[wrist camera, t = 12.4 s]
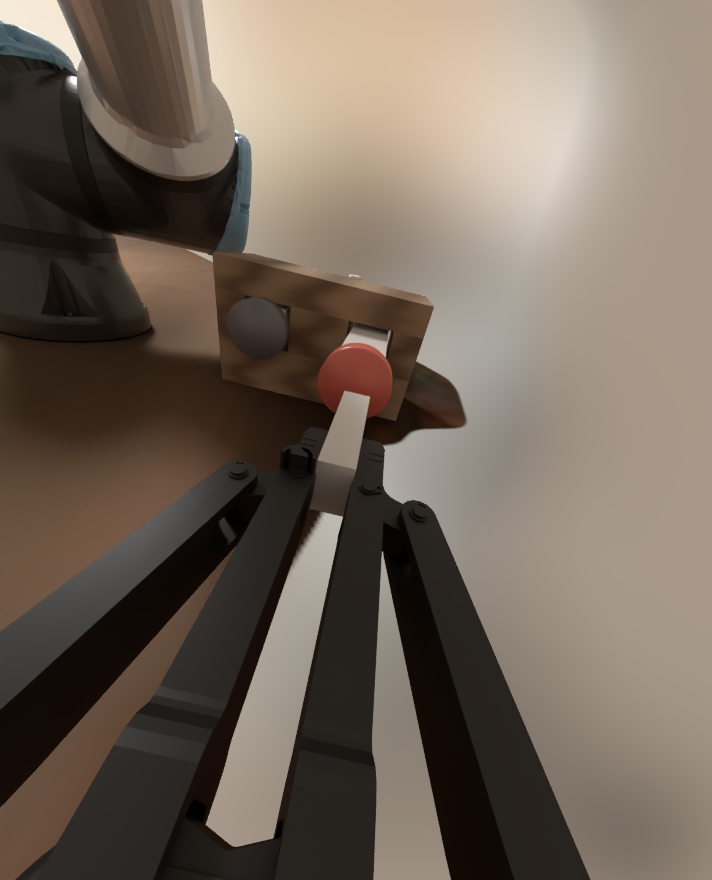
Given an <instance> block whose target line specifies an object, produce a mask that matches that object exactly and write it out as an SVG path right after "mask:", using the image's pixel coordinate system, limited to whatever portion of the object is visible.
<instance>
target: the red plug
mask: <svg viewBox="0 0 712 880" xmlns="http://www.w3.org/2000/svg"><path fill="white" fill-rule="evenodd" d="M387 339H388V330H385V329H381V328H377V327H373V326H369V325H365V324H361V323H357V322H356V323H355V325H354V327H353V328H352V330H351V331H350V333H349V335H348V336H347V338H346V339H345V341H344V343H343V344H342V346H340V347H338V348H337V349H335V350H334V351H333V352H332V353H331V354H330V355H329V357H328V358H327V359H326V361H325V362H324V364H323V365H322V367H321V369H320V372H319V375H318V390H319V394H320V397H321V399H322V400H323V402H324V403H325V405H326V406H327V407H328V408H329V409H330V410H331V411H332V412H334V413H335V414H336V412H337V409H338V406H339V404H340V401H341V399H342V396H343V394H344V391H348V392H352V393H357V394H361V395H365V396H369V397H370V400H369V405H368V411H367V416H366V419H367V418H370V417H372V416H374V415H376V414H378V413H379V412H380V411H382V409H383V408H384V407H385V406H386V405H387V403H388V401H389V399H390V396H391V393H392V370H391V367H390V364H389V362H388V360H387V359H386V349H387Z"/></svg>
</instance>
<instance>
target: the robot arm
mask: <svg viewBox="0 0 712 880" xmlns="http://www.w3.org/2000/svg"><path fill="white" fill-rule="evenodd" d="M57 1H58V4H59V6H60V8H61V10H62V13H63V15H64V17H65V20H66V22H67V24H68V26H69V28H70V31H71V33H72V35H73V37H74V40H75V42H76V44H77V47H78V49H79V51H80V53H81V56H82V59H81V61H80V63H79V67H78V71H76V70H75V68H74V65H73V63H72V62H71V60H70V59H69V57H68V56H67V55H66V54H65V53H64V52H62V50H60V49H59V48H58V47H56V46H55V45H53V44H52V43H50V42H49V41H47V40H45V39H43V38H42V37H40V36H38V35H36V34H34V33H32V32H30V31H28V30H26V29H24V28H21V27H18V26H15V25H11V24H7V23H5V22H2V21H0V331H1V332H5V333H8V334H12V335H17V336H22V337H29V338H36V339H46V340H61V341H96V340H110V339H118V338H125V337H130V336H134V335H138V334H141V333H143V332H145V331H147V330H148V329H149V328H150V327H151V322H150V317H149V312H148V309H147V307H146V305H145V304H144V302H143V301H141V299H140V297H139V295H138V293H137V291H136V289H135V287H134V284H133V283H132V281H131V279H130V277H129V275H128V273H127V271H126V269H125V267H124V266H123V264H122V261H121V259H120V255H119V251H118V247H117V243H116V239H115V234H118V235H123V236H128V237H133V238H138V239H143V240H148V241H153V242H157V243H162V244H166V245H171V246H175V247H180V248H184V249H189V250H194V251H198V252H203V253H207V254H209V255H212V256H213V253H212V252H220V253H242V252H243V251H244V248H245V245H246V240H247V233H248V223H249V207H250V197H251V170H252V169H251V166H252V164H251V147H250V143H249V142H248V139H247V138H246V137H245V136H243V135H242V134H240V133H239V132H238V131H237V130H235V129H234V123H233V119H232V115H231V112H230V110H229V107H228V105H227V103H226V101H225V99H224V97H223V96H222V94H221V92H220V91H219V90H218V88H217V87H216V85H215V84H214V83H213V82H212V80H211V70H210V62H209V54H208V45H207V37H206V29H205V21H204V12H203V4H202V0H57ZM369 400H370V397H369V396H365V395H361V394H357V393H352V392H348V391H344V394H343V396H342V399H341V401H340V404H339V406H338V409H337V412H336V414H335V417H334V419H333V422H332V424H331V427H330V429H329V431H328V430H324V429H320V428H316V427H310V428H309V429H307V430H306V431H305V432H304V433H303V435H302V437H301V439H300V441H299V444H295V445H289V446H287V447H285V448H284V449H283V450H282V451H281V465H280V469H277V470H271V471H258V469H257V468H256V466H255V465H254V464H253V463H251V462H248V461H245V460H236V461H232V462H229V463H227V464H225V465H223V466H222V467H220V468H219V469H218V470H216V471H215V472H214V473H212V474H211V475H210V476H208V477H207V478H206V479H204V480H203V481H202V482H200V483H199V484H198V485H196V486H195V487H194V488H192V489H191V490H190V491H188V492H187V493H186V494H184V495H183V496H182V497H180V498H179V499H178V500H176V501H175V502H174V503H172V504H171V505H170V506H168V507H167V508H166V509H164V510H163V511H162V512H160V513H159V514H158V515H156V516H155V517H153V518H152V519H151V520H149V521H148V522H147V523H145V524H144V525H143V526H141V527H140V528H139V529H137V530H136V531H135V532H133V533H132V534H131V535H129V536H128V537H127V538H125V539H124V540H123V541H121V542H120V543H119V544H117V545H116V546H115V547H113V548H112V549H111V550H109V551H108V552H107V553H105V554H104V555H103V556H101V557H100V558H99V559H97V560H96V561H95V562H93V563H92V564H91V565H89V566H88V567H86V568H85V569H84V570H82V571H81V572H80V573H78V574H77V575H76V576H74V577H73V578H72V579H70V580H69V581H68V582H66V583H65V584H64V585H62V586H61V587H60V588H58V589H57V590H56V591H54V592H53V593H52V594H50V595H49V596H48V597H46V598H45V599H44V600H42V601H41V602H40V603H38V604H37V605H36V606H34V607H33V608H32V609H30V610H29V611H28V612H26V613H25V614H24V615H22V616H21V617H19V618H18V619H17V620H15V621H14V622H13V623H11V624H10V625H9V626H7V627H6V628H5V629H3V630H2V631H1V632H0V807H1V806H2V805H3V804H4V803H5V802H6V801H7V800H8V799H9V798H10V797H11V796H12V795H13V794H14V793H15V792H16V790H17V789H18V788H19V787H20V786H21V785H22V784H23V783H24V782H25V781H26V780H27V779H28V778H29V777H30V776H31V775H32V773H33V772H34V771H35V770H36V769H37V768H38V767H39V766H40V765H41V764H42V763H43V762H44V760H45V759H46V758H47V757H48V756H49V755H50V754H51V753H52V751H53V750H54V749H55V748H56V747H57V746H58V745H59V744H60V742H61V741H62V740H63V739H64V738H65V737H66V736H67V735H68V733H69V732H70V731H71V730H72V729H73V728H74V727H75V726H76V724H77V723H78V722H79V721H80V720H81V719H82V718H83V717H84V715H85V714H86V713H87V712H88V711H89V710H90V709H91V708H92V707H93V705H94V704H95V703H96V702H97V701H98V700H99V699H100V698H101V696H102V695H103V694H104V693H105V692H106V691H107V690H108V689H109V687H110V686H111V685H112V684H113V683H114V682H115V681H116V680H117V678H118V677H119V676H120V675H121V674H122V673H123V672H124V671H125V669H126V668H127V667H128V666H129V665H130V664H131V663H132V662H133V660H134V659H135V658H136V657H137V656H138V655H139V654H140V653H141V652H142V650H143V649H144V648H145V647H146V646H147V645H148V644H149V643H150V641H151V640H152V639H153V638H154V637H155V636H156V635H157V634H158V632H159V631H160V630H161V629H162V628H163V627H164V626H165V625H166V623H167V622H168V621H169V620H170V619H171V618H172V617H173V616H174V614H175V613H176V612H177V611H178V610H179V609H180V608H181V607H182V605H183V604H184V603H185V602H186V601H187V600H188V599H189V598H190V597H191V595H192V594H193V593H194V592H195V591H196V590H197V589H198V588H199V586H200V585H201V584H202V583H203V582H204V581H205V580H206V579H207V577H208V576H209V575H210V574H211V573H212V572H213V571H214V570H215V568H216V567H217V566H218V565H219V564H220V563H221V562H222V561H223V559H224V558H225V557H226V556H227V555H228V554H229V553H230V552H231V550H232V549H233V548H234V547H235V546H236V545H237V544H238V545H237V547H236V549H235V551H234V552H233V554H232V556H231V558H230V560H229V561H228V563H227V565H226V567H225V569H224V571H223V572H222V574H221V576H220V578H219V580H218V581H217V583H216V585H215V587H214V589H213V590H212V592H211V594H210V596H209V598H208V600H207V601H206V603H205V605H204V607H203V609H202V610H201V612H200V614H199V616H198V618H197V619H196V621H195V623H194V625H193V627H192V628H191V630H190V632H189V634H188V636H187V638H186V639H185V641H184V643H183V645H182V647H181V648H180V650H179V652H178V654H177V656H176V657H175V659H174V661H173V663H172V665H171V667H170V668H169V670H168V672H167V674H166V676H165V677H164V679H163V681H162V683H161V685H160V686H159V688H158V690H157V691H156V693H155V695H154V696H153V697H152V699H151V700H150V701H149V702H148V703H147V704H146V705H145V706H144V707H143V708H141V709H140V710H139V711H138V712H137V713H136V714H135V715H134V717H133V718H132V719H131V720H130V722H129V723H128V724H127V725H126V727H125V728H124V730H123V732H122V733H121V735H120V736H119V738H118V740H117V741H116V743H115V744H114V746H113V748H112V749H111V751H110V753H109V755H108V756H107V758H106V760H105V761H104V763H103V765H102V767H101V768H100V770H99V772H98V774H97V775H96V777H95V779H94V780H93V782H92V784H91V786H90V787H89V789H88V791H87V793H86V794H85V796H84V798H83V799H82V801H81V803H80V805H79V806H78V808H77V810H76V812H75V813H74V815H73V817H72V818H71V820H70V822H69V824H68V825H67V827H66V829H65V831H64V832H63V834H62V836H61V837H60V839H59V841H58V843H57V844H56V845H55V846H54V847H53V848H51V849H50V850H49V851H47V852H46V853H45V854H44V855H42V856H41V857H40V858H39V859H38V860H37V861H35V862H34V863H33V864H32V865H31V866H30V867H29V868H27V869H26V870H25V871H24V872H23V873H22V874H21V875H20V876H19V877H18V878H17V879H16V880H373V872H374V847H375V822H376V770H375V763H374V758H373V754H372V724H373V706H374V688H375V687H374V686H375V668H376V649H377V631H378V612H379V592H380V575H381V556H382V551H383V555H384V560H385V565H386V570H387V574H388V579H389V584H390V589H391V594H392V599H393V604H394V608H395V613H396V618H397V623H398V627H399V633H400V637H401V642H402V647H403V652H404V657H405V662H406V666H407V671H408V676H409V681H410V686H411V691H412V696H413V700H414V705H415V710H416V715H417V720H418V724H419V729H420V734H421V739H422V744H423V749H424V753H425V758H426V763H427V768H428V773H429V778H430V783H431V788H432V792H433V797H434V802H435V807H436V812H437V817H438V821H439V826H440V831H441V836H442V840H443V846H444V850H445V855H446V860H447V864H448V868H449V873H450V877H451V880H590V878H589V875H588V873H587V871H586V868H585V866H584V864H583V861H582V859H581V857H580V854H579V852H578V849H577V847H576V845H575V843H574V840H573V838H572V836H571V833H570V831H569V828H568V826H567V824H566V821H565V819H564V817H563V814H562V812H561V809H560V807H559V805H558V802H557V800H556V798H555V795H554V793H553V791H552V788H551V786H550V784H549V781H548V779H547V776H546V774H545V772H544V769H543V767H542V765H541V762H540V760H539V758H538V755H537V753H536V751H535V748H534V746H533V744H532V741H531V739H530V736H529V734H528V732H527V729H526V727H525V725H524V722H523V720H522V718H521V716H520V713H519V711H518V708H517V706H516V704H515V701H514V699H513V697H512V694H511V692H510V689H509V687H508V685H507V682H506V680H505V678H504V675H503V673H502V671H501V668H500V666H499V664H498V661H497V659H496V656H495V655H494V652H493V650H492V647H491V645H490V642H489V640H488V638H487V635H486V633H485V631H484V628H483V626H482V624H481V621H480V619H479V616H478V614H477V612H476V609H475V607H474V605H473V602H472V600H471V598H470V595H469V593H468V591H467V588H466V586H465V584H464V581H463V579H462V576H461V574H460V572H459V569H458V567H457V565H456V562H455V560H454V558H453V555H452V553H451V551H450V548H449V546H448V544H447V541H446V539H445V537H444V534H443V532H442V529H441V527H440V525H439V522H438V520H437V518H436V515H435V514H434V512H433V510H432V509H431V508H430V507H429V506H427V505H426V504H424V503H422V502H420V501H415V500H412V501H407V502H405V503H404V504H402V503H400V502H398V501H396V500H394V499H392V498H391V497H390V496H389V495H388V494H387V493H386V492H385V490H384V487H383V468H384V452H385V449H384V447H383V445H382V444H381V442H377V441H373V440H368V439H364V438H362V437H363V432H364V426H365V421H366V416H367V411H368V405H369ZM309 507H310V509H313V510H317V511H322V512H326V513H330V514H334V515H338V516H343V520H342V523H341V527H340V531H339V535H338V541H337V546H336V551H335V556H334V560H333V565H332V570H331V574H330V579H329V584H328V588H327V593H326V598H325V602H324V607H323V612H322V617H321V621H320V626H319V631H318V635H317V640H316V645H315V650H314V655H313V659H312V664H311V668H310V674H309V678H308V683H307V687H306V692H305V697H304V702H303V707H302V711H301V715H300V720H299V725H298V730H297V735H296V739H295V744H294V748H293V754H292V757H291V762H290V766H289V770H288V775H287V779H286V783H285V788H284V792H283V797H282V801H281V806H280V811H279V815H278V820H277V825H276V829H275V834H274V838H273V839H269V840H265V841H261V842H257V843H252V844H248V845H244V846H239V847H233V846H231V845H229V844H228V843H227V842H226V841H224V840H223V839H222V838H221V837H220V836H218V835H217V834H216V833H215V832H213V831H212V830H211V829H210V828H208V826H206V825H205V824H206V822H207V819H208V816H209V813H210V809H211V807H212V804H213V801H214V798H215V795H216V792H217V789H218V786H219V783H220V780H221V776H222V773H223V770H224V767H225V763H226V759H227V755H228V751H229V747H230V743H231V740H232V737H233V734H234V731H235V728H236V725H237V722H238V719H239V716H240V713H241V710H242V707H243V704H244V701H245V698H246V696H247V692H248V690H249V687H250V684H251V681H252V678H253V675H254V672H255V669H256V666H257V663H258V660H259V657H260V654H261V652H262V649H263V646H264V643H265V640H266V637H267V634H268V631H269V628H270V625H271V622H272V619H273V616H274V613H275V611H276V608H277V605H278V602H279V599H280V596H281V593H282V590H283V587H284V584H285V581H286V578H287V575H288V572H289V569H290V567H291V564H292V561H293V558H294V555H295V552H296V549H297V546H298V543H299V540H300V537H301V534H302V531H303V528H304V526H305V523H306V520H307V514H308V510H309Z"/></svg>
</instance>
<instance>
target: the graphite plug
mask: <svg viewBox="0 0 712 880" xmlns="http://www.w3.org/2000/svg"><path fill="white" fill-rule="evenodd" d="M290 308H291V306H287V305H283V304H279V303H275V302H273V301H271V300H269V299H267V298H264V297H251V298H247V299H243V300H240V301H238V302H237V303H235V304H234V305H233V306H232V308H231V309H230V311H229V314H228V319H227V325H228V331H229V334H230V337H231V339H232V341H233V342H234V344H235V345H236V347H237V348H238V349H239V350H240V351H241V352H243V353H244V354H245V355H247V356H249V357H251V358H254V359H258V360H266V359H270V358H272V357H274V356H275V355H277V354H278V353H279V352H280V351H282V350H283V349H284V348H285V346H286V345H287V343H288V340H289V335H290V329H289V324H290Z"/></svg>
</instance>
